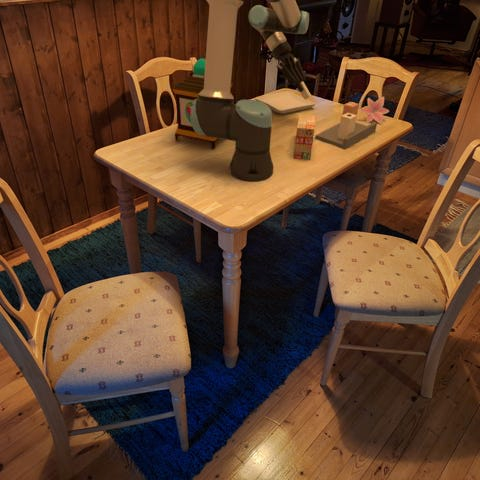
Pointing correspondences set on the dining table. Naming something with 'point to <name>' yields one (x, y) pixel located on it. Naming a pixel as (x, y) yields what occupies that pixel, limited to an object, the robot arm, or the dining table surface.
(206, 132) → the robot arm
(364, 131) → the tray
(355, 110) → the key two
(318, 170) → the dining table surface
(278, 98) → the salad plate
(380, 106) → the lily
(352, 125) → the key one
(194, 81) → the decorative lantern
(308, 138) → the stack of blocks
